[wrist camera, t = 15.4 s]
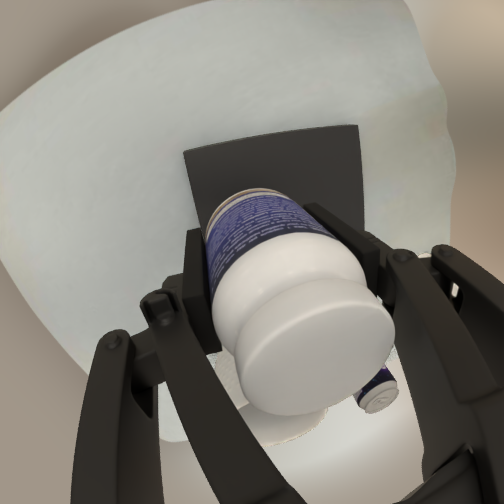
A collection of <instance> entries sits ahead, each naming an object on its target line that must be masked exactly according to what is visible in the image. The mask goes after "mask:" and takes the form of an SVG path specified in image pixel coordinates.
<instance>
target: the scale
mask: <svg viewBox="0 0 504 504" xmlns="http://www.w3.org/2000/svg"><path fill="white" fill-rule="evenodd" d="M183 155H184V159H185V164H186V168H187V173H188V177H189V181H190V185H191V190H192V194H193V198H194V202H195V206H196V210H197V214H198V218H199V222H200V226H201V230H202V234H203V238H204V242H205V236H206V230H207V226H208V223H209V221H210V219H211V217H212V215H213V213H214V212H215V211H216V209H217V208H218V207H219V206H220V205H221V204H222V203H223V202H224V201H225V200H227V199H228V198H229V197H231V196H233V195H234V194H237V193H239V192H241V191H245V190H249V189H257V188H263V189H270V190H274V191H277V192H280V193H282V194H284V195H286V196H287V197H289V198H290V199H292V200H293V201H294V202H295V203H296V204H298V205H299V206H300V207H301V208H302V209H303V204H308V203H313V202H316V203H317V204H319V205H320V206H322V207H323V208H325V209H326V210H328V211H329V212H331V213H332V214H333V215H335V216H336V217H338V218H339V219H341V220H342V221H343V222H345V223H346V224H348V225H349V226H350V227H352V228H353V229H354V230H356V231H357V230H364V193H363V175H362V161H361V149H360V139H359V130H358V125H338V126H326V127H316V128H307V129H299V130H291V131H284V132H277V133H270V134H264V135H258V136H252V137H246V138H241V139H236V140H230V141H225V142H221V143H216V144H211V145H207V146H202V147H198V148H194V149H189V150H185V151H184V152H183Z"/></svg>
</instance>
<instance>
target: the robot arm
mask: <svg viewBox="0 0 504 504" xmlns="http://www.w3.org/2000/svg"><path fill="white" fill-rule="evenodd" d="M303 210H304V211H306V212H307V213H308V214H309V215H310V216H311V217H312V218H314V219H315V220H316V221H317V222H318V223H319V224H320V225H322V226H323V227H324V228H325V229H326V230H327V231H329V232H330V233H331V234H332V235H333V236H334V237H335V238H337V239H338V240H339V241H340V242H341V243H342V244H343V245H344V246H345V247H347V248H348V249H349V250H350V251H351V253H352V254H353V255H354V256H355V257H356V259H357V260H358V261H359V263H360V265H361V267H362V269H363V272H364V275H365V279H366V284H367V288H368V289H369V290H370V291H371V292H372V293H373V294H374V296H375V297H376V298H377V295H378V296H379V297H380V298H381V299H382V306H383V307H384V308H385V309H386V310H387V312H388V313H389V314H390V316H391V318H392V320H393V323H394V326H395V340H394V344H395V347H396V350H397V353H398V356H399V359H400V362H401V365H402V368H403V371H404V374H405V377H406V380H407V384H408V387H409V390H410V393H411V397H412V401H413V404H414V408H415V412H416V415H417V419H418V423H419V427H420V431H421V436H422V440H423V445H424V454H423V459H422V474H423V480H424V483H422V484H421V485H420V486H419V487H417V488H416V489H415V490H413V491H412V492H411V493H409V494H408V495H407V496H406V497H405V498H403V499H402V500H401V501H400V502H397V503H393V504H504V284H503V283H502V282H501V281H499V280H498V279H496V278H495V277H494V276H493V275H492V274H490V273H489V272H488V271H486V270H485V269H484V268H482V267H481V266H479V265H478V264H477V263H475V262H474V261H473V260H471V259H470V258H468V257H467V256H466V255H464V254H462V253H461V252H460V251H458V250H457V249H455V248H453V247H451V246H448V245H445V244H441V245H436V246H434V247H433V248H432V251H431V257H424V258H418V256H417V255H416V254H415V253H414V252H412V251H410V250H406V249H394V250H393V249H392V248H391V247H389V246H388V245H387V244H385V243H384V242H382V241H380V239H378V238H376V237H375V236H374V235H372V234H371V233H370V232H367V231H364V230H357V231H356V230H354V229H353V228H352V227H350V226H349V225H348V224H346V223H345V222H343V221H342V220H341V219H339V218H338V217H336V216H335V215H333V214H332V213H331V212H329V211H328V210H326V209H325V208H323V207H322V206H320V205H319V204H317V203H316V202H313V203H308V204H303ZM454 283H455V284H456V285H457V286H458V287H459V288H458V292H457V295H456V297H455V296H453V295H452V289H453V285H454ZM140 308H141V311H142V313H143V315H144V317H145V319H146V321H147V323H148V325H149V328H147V329H146V330H144V331H142V332H140V333H138V334H136V335H133V336H131V337H130V335H129V333H128V332H127V331H125V330H122V329H118V330H113V331H110V332H108V333H106V334H105V335H104V336H103V337H102V338H101V339H100V340H99V342H98V344H97V347H96V351H95V354H94V358H93V362H92V366H91V370H90V374H89V378H88V382H87V386H86V391H85V396H84V400H83V405H82V410H81V416H80V421H79V427H78V433H77V440H76V447H75V455H74V463H73V473H72V485H71V503H70V504H164V496H163V486H162V476H161V462H160V446H159V422H158V384H160V383H163V382H165V381H166V383H167V386H168V389H169V392H170V394H171V397H172V400H173V402H174V405H175V408H176V410H177V413H178V415H179V418H180V420H181V423H182V425H183V428H184V430H185V433H186V435H187V437H188V440H189V442H190V444H191V446H192V449H193V451H194V453H195V455H196V457H197V460H198V462H199V464H200V466H201V468H202V470H203V472H204V474H205V476H206V478H207V480H208V482H209V484H210V486H211V488H212V490H213V492H214V493H215V495H216V497H217V499H218V501H219V503H220V504H307V503H306V502H305V500H304V499H303V498H302V497H301V496H300V495H299V493H297V491H296V490H295V489H294V488H293V487H292V486H291V485H289V484H288V482H287V481H286V480H285V479H284V477H283V476H282V475H281V473H280V472H279V471H278V469H277V468H276V467H275V465H274V464H273V463H272V461H271V460H270V458H269V457H268V456H267V454H266V452H265V451H264V449H263V448H262V447H261V445H260V444H259V442H258V441H257V439H256V438H255V436H254V435H253V433H252V432H251V430H250V428H249V427H248V425H247V424H246V422H245V421H244V419H243V418H242V416H241V414H240V413H239V411H238V410H237V408H236V406H235V405H234V403H233V402H232V400H231V398H230V397H229V395H228V393H227V392H226V390H225V388H224V386H223V385H222V383H221V381H220V380H219V378H218V376H217V374H216V373H215V371H214V369H213V367H212V366H211V364H210V362H209V360H208V358H207V357H206V355H207V354H212V353H217V352H221V351H223V350H222V344H221V341H220V340H219V338H218V336H217V334H216V331H215V327H214V324H213V319H212V312H211V302H210V292H209V283H208V272H207V261H206V250H205V243H204V239H203V235H202V231H201V227H200V228H196V229H192V230H188V231H187V235H186V246H185V257H184V270H183V273H180V274H176V275H172V276H168V277H167V278H166V280H165V281H164V282H163V284H162V289H158V290H155V291H153V292H151V293H149V294H147V295H146V296H145V297H143V299H142V300H141V302H140Z"/></svg>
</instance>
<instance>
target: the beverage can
mask: <svg viewBox="0 0 504 504" xmlns="http://www.w3.org/2000/svg"><path fill="white" fill-rule="evenodd" d="M398 394H399V390H398V389H397V381H396V380H395V378H394V377H393V375H392V374H391V373H390V371H389V370H388V368H387V367H386V365H385V364H384V365H383V366H382V368H381V369H380V370H379V372H378V373H377V374H376V375H375V376H374V377H373V378H372V379H371V380H370V381H369V382H368V383H367V384H366V385H365V386H364V387H362V388H361V389H360V390H358V391H357V392H356V393H354V394H353V396H354V398H355V400H356V402H357V404H358V406H359V407H360V408H362V409H364V410H365V412H366V413H369V414H371V413H375V412H378V411H380V410H382V409H384V408H386V407H387V406H389V405H390V404H391V403H392V402H393V401H394V400H395V399H396V398H397V396H398Z"/></svg>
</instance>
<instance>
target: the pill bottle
mask: <svg viewBox="0 0 504 504" xmlns="http://www.w3.org/2000/svg"><path fill="white" fill-rule="evenodd" d="M205 250H206V261H207V272H208V283H209V292H210V302H211V312H212V319H213V324H214V327H215V331H216V334H217V336H218V338H219V340H220V341H221V343H222V345H223V346H224V347H225V349H226V350H227V351H228V352H229V353H230V354H231V355H232V356H233V357H234V360H235V366H236V371H237V375H238V378H239V383H240V387H241V390H242V393H243V395H244V397H245V398H246V399H247V401H248V402H249V403H250V404H251V405H252V406H254V407H255V408H257V409H259V410H261V411H263V412H266V413H269V414H274V415H283V416H291V415H302V414H307V413H312V412H316V411H319V410H322V409H325V408H328V407H330V406H332V405H335V404H337V403H339V402H341V401H343V400H344V399H346V398H348V397H349V396H351V395H353V394H354V393H356V392H357V391H358V390H360V389H361V388H362V387H364V386H365V385H366V384H367V383H368V382H369V381H370V380H371V379H372V378H373V377H374V376H375V375H376V374H377V373H378V372H379V370H380V369H381V368H382V366H383V365H384V363H385V362H386V360H387V358H388V356H389V355H390V352H391V350H392V348H393V344H394V340H395V326H394V323H393V320H392V318H391V316H390V314H389V313H388V312H387V310H386V309H385V308H384V307H383V306H382V304H381V303H380V302H379V301H378V299H377V298H376V297H375V296H374V294H373V293H372V292H371V291H370V290H369V289H368V288H367V284H366V279H365V275H364V272H363V269H362V267H361V265H360V263H359V261H358V260H357V259H356V257H355V256H354V255H353V254H352V253H351V251H350V250H349V249H348V248H347V247H345V246H344V245H343V244H342V243H341V242H340V241H339V240H338V239H337V238H335V237H334V236H333V235H332V234H331V233H330V232H329V231H327V230H326V229H325V228H324V227H323V226H322V225H320V224H319V223H318V222H317V221H316V220H315V219H314V218H312V217H311V216H310V215H309V214H308V213H307V212H306V211H304V210H303V209H302V208H301V207H300V206H299V205H298V204H296V203H295V202H294V201H293V200H292V199H290V198H289V197H287V196H286V195H284V194H282V193H280V192H277V191H274V190H270V189H263V188H257V189H249V190H245V191H241V192H239V193H237V194H234V195H233V196H231V197H229V198H228V199H227V200H225V201H224V202H223V203H222V204H221V205H220V206H219V207H218V208H217V209H216V211H215V212H214V213H213V215H212V217H211V219H210V221H209V223H208V226H207V230H206V236H205Z"/></svg>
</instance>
